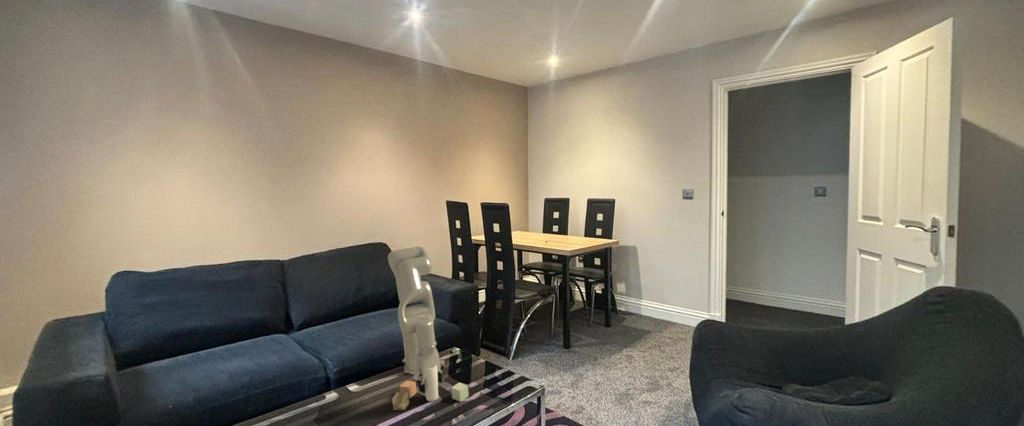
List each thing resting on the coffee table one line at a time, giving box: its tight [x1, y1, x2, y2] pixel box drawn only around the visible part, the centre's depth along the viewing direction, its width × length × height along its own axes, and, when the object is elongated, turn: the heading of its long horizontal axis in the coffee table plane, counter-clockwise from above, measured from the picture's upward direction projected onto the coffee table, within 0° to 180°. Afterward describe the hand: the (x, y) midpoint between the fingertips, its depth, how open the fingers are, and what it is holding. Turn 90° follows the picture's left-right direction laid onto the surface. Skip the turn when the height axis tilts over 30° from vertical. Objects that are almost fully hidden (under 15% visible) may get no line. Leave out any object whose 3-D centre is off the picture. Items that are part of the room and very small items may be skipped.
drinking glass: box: [423, 365, 439, 402], centre depth 193 cm, size 7×7×15 cm
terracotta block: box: [399, 380, 418, 399], centre depth 199 cm, size 5×5×5 cm
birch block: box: [391, 391, 410, 411], centre depth 190 cm, size 5×5×5 cm
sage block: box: [450, 382, 470, 402], centre depth 193 cm, size 5×5×5 cm
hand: (431, 387), depth 193 cm, fingers open, 9 cm apart
